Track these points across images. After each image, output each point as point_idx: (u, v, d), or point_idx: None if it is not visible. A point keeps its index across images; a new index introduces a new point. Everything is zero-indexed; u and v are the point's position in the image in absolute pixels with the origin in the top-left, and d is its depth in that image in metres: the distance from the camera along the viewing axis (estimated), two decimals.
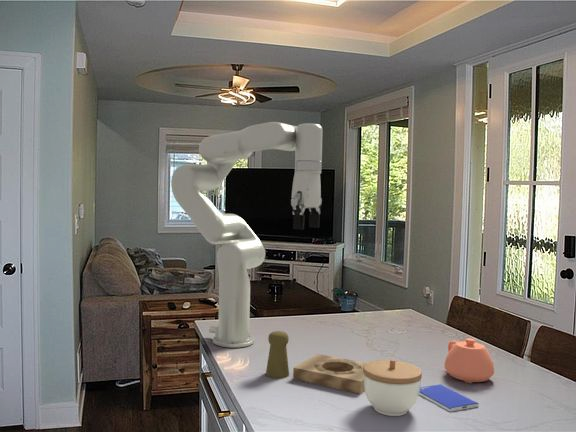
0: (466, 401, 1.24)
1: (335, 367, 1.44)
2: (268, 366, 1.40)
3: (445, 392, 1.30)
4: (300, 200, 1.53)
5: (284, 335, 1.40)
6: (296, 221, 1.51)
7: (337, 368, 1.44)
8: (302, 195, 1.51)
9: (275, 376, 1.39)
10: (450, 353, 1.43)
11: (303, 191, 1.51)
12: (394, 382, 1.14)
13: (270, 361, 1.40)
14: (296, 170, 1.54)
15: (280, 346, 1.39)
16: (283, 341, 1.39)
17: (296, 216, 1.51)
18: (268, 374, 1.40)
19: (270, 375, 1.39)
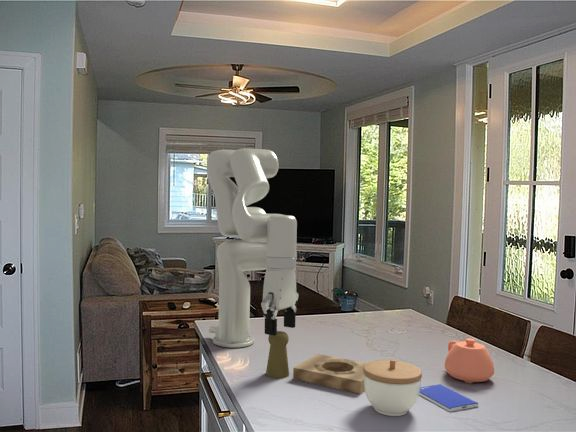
0: (466, 401, 1.24)
1: (335, 367, 1.44)
2: (268, 366, 1.40)
3: (445, 392, 1.30)
4: (272, 301, 1.37)
5: (284, 335, 1.40)
6: (268, 326, 1.35)
7: (337, 368, 1.44)
8: (274, 297, 1.35)
9: (275, 376, 1.39)
10: (450, 353, 1.43)
11: (275, 292, 1.35)
12: (394, 382, 1.14)
13: (270, 361, 1.40)
14: (268, 267, 1.38)
15: (280, 346, 1.39)
16: (283, 341, 1.39)
17: (268, 320, 1.35)
18: (268, 374, 1.40)
19: (270, 375, 1.39)
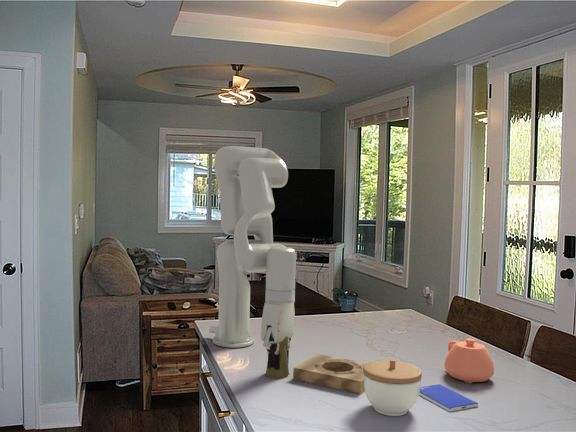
0: (465, 401, 1.25)
1: (335, 367, 1.44)
2: None
3: (445, 392, 1.30)
4: None
5: None
6: (271, 361, 1.39)
7: (337, 368, 1.44)
8: (272, 330, 1.36)
9: (275, 376, 1.39)
10: (450, 353, 1.43)
11: (273, 325, 1.36)
12: (394, 382, 1.14)
13: None
14: (266, 299, 1.39)
15: (280, 346, 1.39)
16: (283, 341, 1.39)
17: (271, 355, 1.38)
18: (268, 374, 1.40)
19: (270, 375, 1.39)
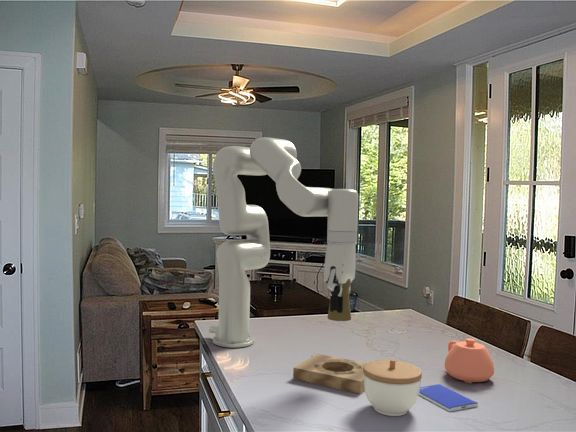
0: (465, 401, 1.25)
1: (335, 367, 1.44)
2: None
3: (444, 392, 1.30)
4: None
5: None
6: (334, 303, 1.36)
7: (337, 368, 1.44)
8: (336, 271, 1.34)
9: (338, 319, 1.36)
10: (450, 353, 1.43)
11: (338, 266, 1.34)
12: (394, 382, 1.14)
13: None
14: (329, 241, 1.37)
15: (343, 289, 1.37)
16: (346, 283, 1.37)
17: (334, 298, 1.36)
18: (330, 317, 1.38)
19: (333, 318, 1.37)
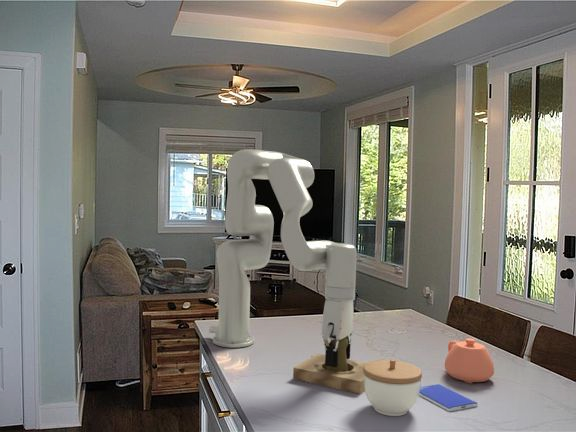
0: (465, 401, 1.25)
1: None
2: (328, 369, 1.39)
3: (444, 392, 1.30)
4: None
5: (344, 338, 1.39)
6: (329, 358, 1.36)
7: None
8: (334, 327, 1.35)
9: None
10: (450, 353, 1.43)
11: (335, 322, 1.34)
12: (394, 382, 1.14)
13: None
14: (327, 296, 1.37)
15: (340, 350, 1.38)
16: (343, 344, 1.38)
17: (329, 352, 1.35)
18: None
19: None
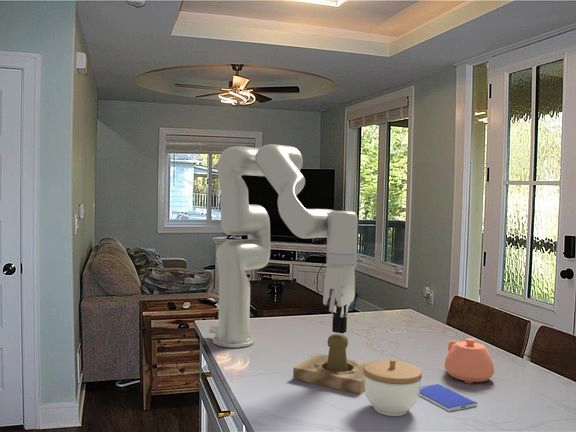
0: (464, 401, 1.25)
1: None
2: (328, 369, 1.39)
3: (444, 391, 1.30)
4: None
5: (344, 338, 1.39)
6: (336, 324, 1.38)
7: None
8: (336, 293, 1.34)
9: None
10: (450, 353, 1.43)
11: (337, 288, 1.34)
12: (394, 382, 1.14)
13: (330, 364, 1.39)
14: (328, 263, 1.37)
15: (340, 350, 1.38)
16: (343, 344, 1.38)
17: (336, 319, 1.38)
18: None
19: None
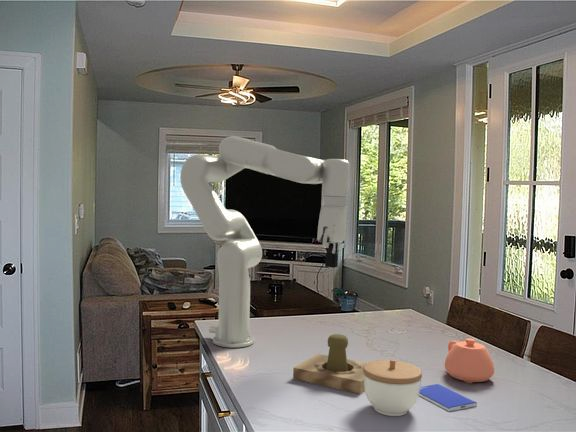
0: (464, 400, 1.25)
1: None
2: (328, 369, 1.39)
3: (443, 391, 1.30)
4: None
5: (344, 338, 1.39)
6: (328, 259, 1.56)
7: None
8: (328, 231, 1.52)
9: None
10: (450, 353, 1.43)
11: (329, 226, 1.52)
12: (394, 382, 1.14)
13: (330, 364, 1.39)
14: (323, 205, 1.55)
15: (340, 350, 1.38)
16: (343, 344, 1.38)
17: (328, 254, 1.56)
18: None
19: None
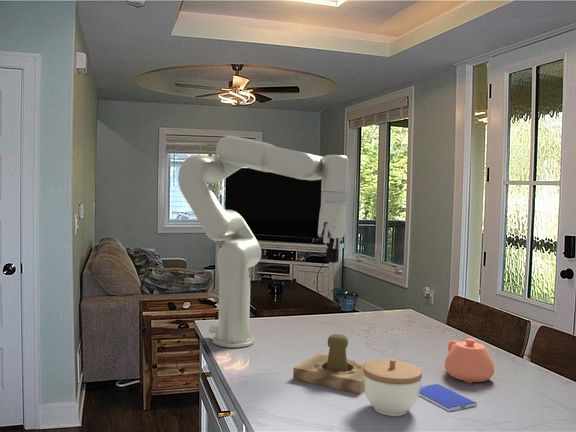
0: (464, 400, 1.25)
1: None
2: (328, 369, 1.39)
3: (443, 391, 1.30)
4: None
5: (344, 338, 1.39)
6: (329, 254, 1.57)
7: None
8: (329, 226, 1.53)
9: None
10: (450, 353, 1.43)
11: (330, 221, 1.53)
12: (394, 382, 1.14)
13: (330, 364, 1.39)
14: (322, 201, 1.56)
15: (340, 350, 1.38)
16: (343, 344, 1.38)
17: (329, 250, 1.57)
18: None
19: None
